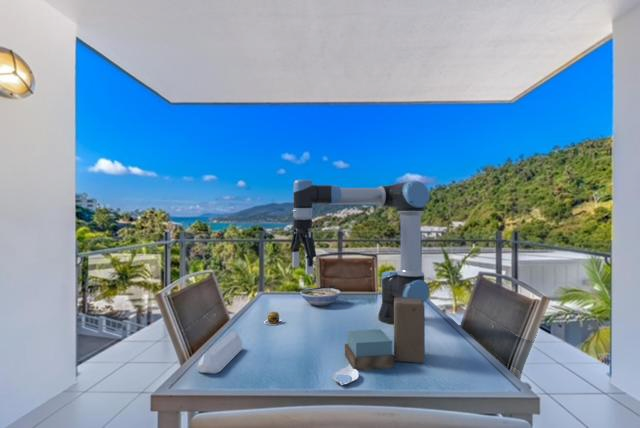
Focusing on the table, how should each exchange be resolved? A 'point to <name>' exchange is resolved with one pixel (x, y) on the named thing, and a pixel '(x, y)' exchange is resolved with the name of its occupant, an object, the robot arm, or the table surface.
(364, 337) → the grey teal block
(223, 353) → the crystal
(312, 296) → the ramen bowl
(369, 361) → the tower base
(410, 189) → the robot arm
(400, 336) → the wooden block
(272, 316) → the hamburger
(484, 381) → the table surface
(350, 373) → the pale veined leaf
